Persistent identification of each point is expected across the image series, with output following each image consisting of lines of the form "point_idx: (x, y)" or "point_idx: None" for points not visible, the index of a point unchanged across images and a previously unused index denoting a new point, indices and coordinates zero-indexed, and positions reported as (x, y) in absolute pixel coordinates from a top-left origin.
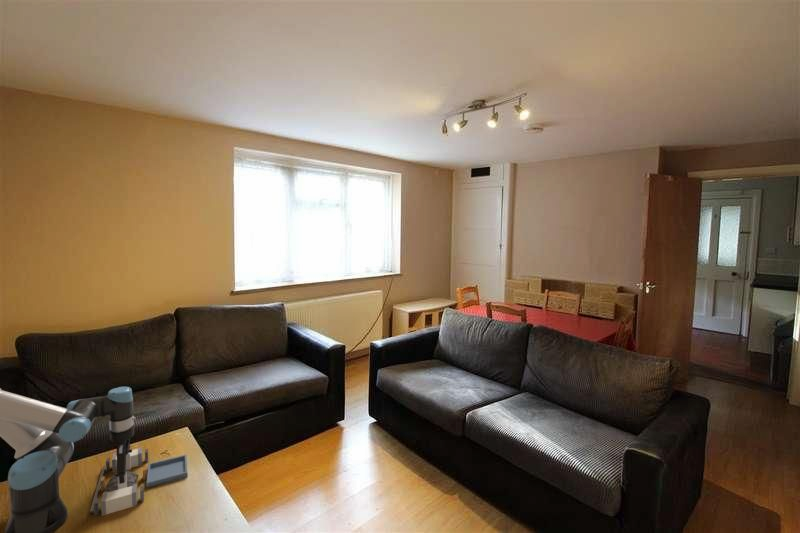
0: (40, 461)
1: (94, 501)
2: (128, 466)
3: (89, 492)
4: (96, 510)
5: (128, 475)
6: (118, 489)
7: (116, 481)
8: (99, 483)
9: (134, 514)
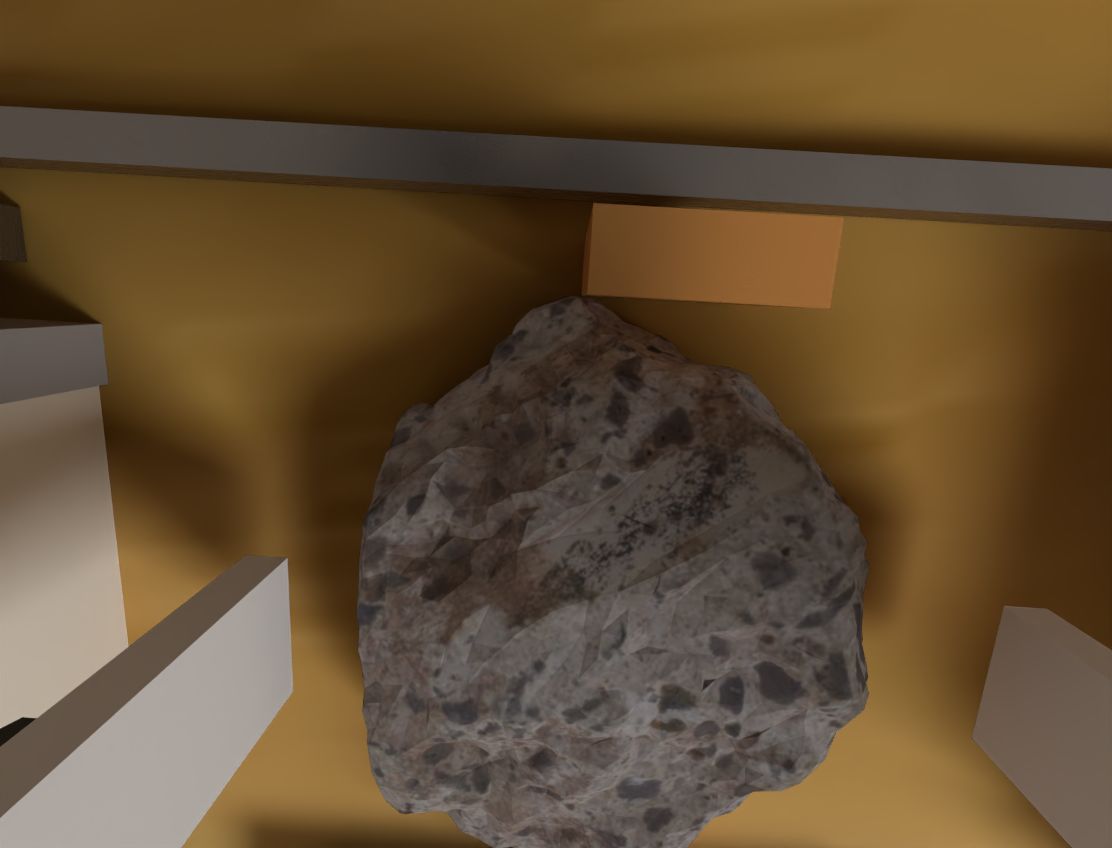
0: None
1: (196, 150)
2: (1039, 770)
3: (704, 24)
4: None
5: (595, 779)
6: (218, 581)
7: (515, 552)
8: (860, 185)
9: None
